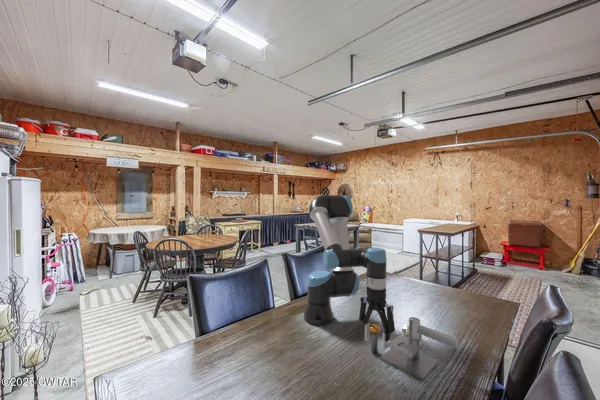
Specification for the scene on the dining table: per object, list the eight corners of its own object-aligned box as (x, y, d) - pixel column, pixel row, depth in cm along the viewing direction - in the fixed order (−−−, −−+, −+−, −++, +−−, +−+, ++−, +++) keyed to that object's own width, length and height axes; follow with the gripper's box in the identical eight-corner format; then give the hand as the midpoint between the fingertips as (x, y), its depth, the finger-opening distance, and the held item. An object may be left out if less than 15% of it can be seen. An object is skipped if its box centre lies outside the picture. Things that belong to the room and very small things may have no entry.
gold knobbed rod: (366, 352, 105) (367, 326, 105) (372, 348, 108) (373, 323, 108) (376, 357, 102) (376, 330, 102) (381, 352, 105) (382, 327, 105)
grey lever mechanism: (379, 360, 100) (380, 321, 100) (398, 345, 110) (398, 310, 110) (443, 394, 83) (445, 348, 83) (459, 373, 93) (460, 332, 93)
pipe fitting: (410, 345, 111) (421, 340, 114) (409, 336, 111) (421, 332, 114) (396, 335, 119) (408, 331, 121) (396, 327, 119) (407, 323, 121)
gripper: (350, 282, 109) (349, 336, 109) (395, 296, 94) (395, 359, 94) (360, 279, 114) (360, 330, 114) (405, 291, 99) (404, 350, 99)
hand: (376, 343), depth 104 cm, fingers open, 7 cm apart
